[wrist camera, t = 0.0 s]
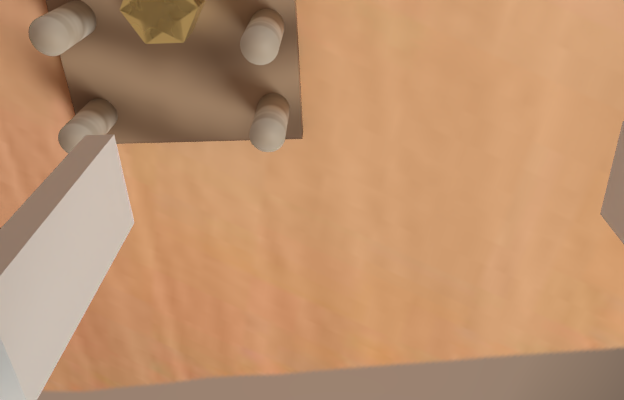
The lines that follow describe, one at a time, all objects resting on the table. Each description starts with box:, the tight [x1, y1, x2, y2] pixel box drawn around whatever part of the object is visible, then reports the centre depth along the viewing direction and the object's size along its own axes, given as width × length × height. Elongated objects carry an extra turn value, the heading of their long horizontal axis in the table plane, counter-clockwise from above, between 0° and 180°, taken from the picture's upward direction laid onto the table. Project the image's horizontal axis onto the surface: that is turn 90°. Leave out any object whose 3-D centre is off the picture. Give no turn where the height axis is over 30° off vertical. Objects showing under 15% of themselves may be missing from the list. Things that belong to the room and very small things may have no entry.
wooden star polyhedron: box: [120, 0, 206, 44], centre depth 38 cm, size 4×5×3 cm
